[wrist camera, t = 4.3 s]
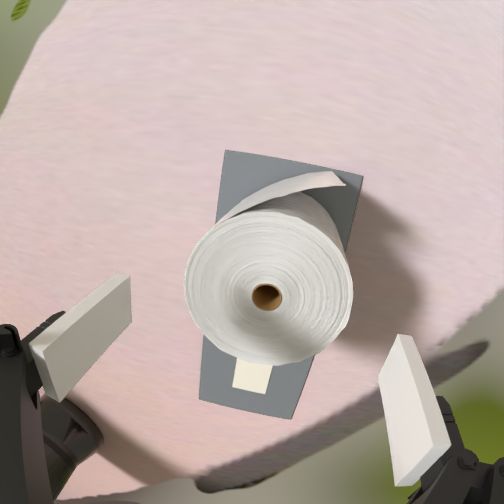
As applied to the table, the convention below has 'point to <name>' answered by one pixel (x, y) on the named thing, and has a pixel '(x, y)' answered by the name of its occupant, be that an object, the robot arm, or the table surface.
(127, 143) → the table surface
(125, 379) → the table surface
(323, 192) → the label mat
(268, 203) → the toilet tissue
